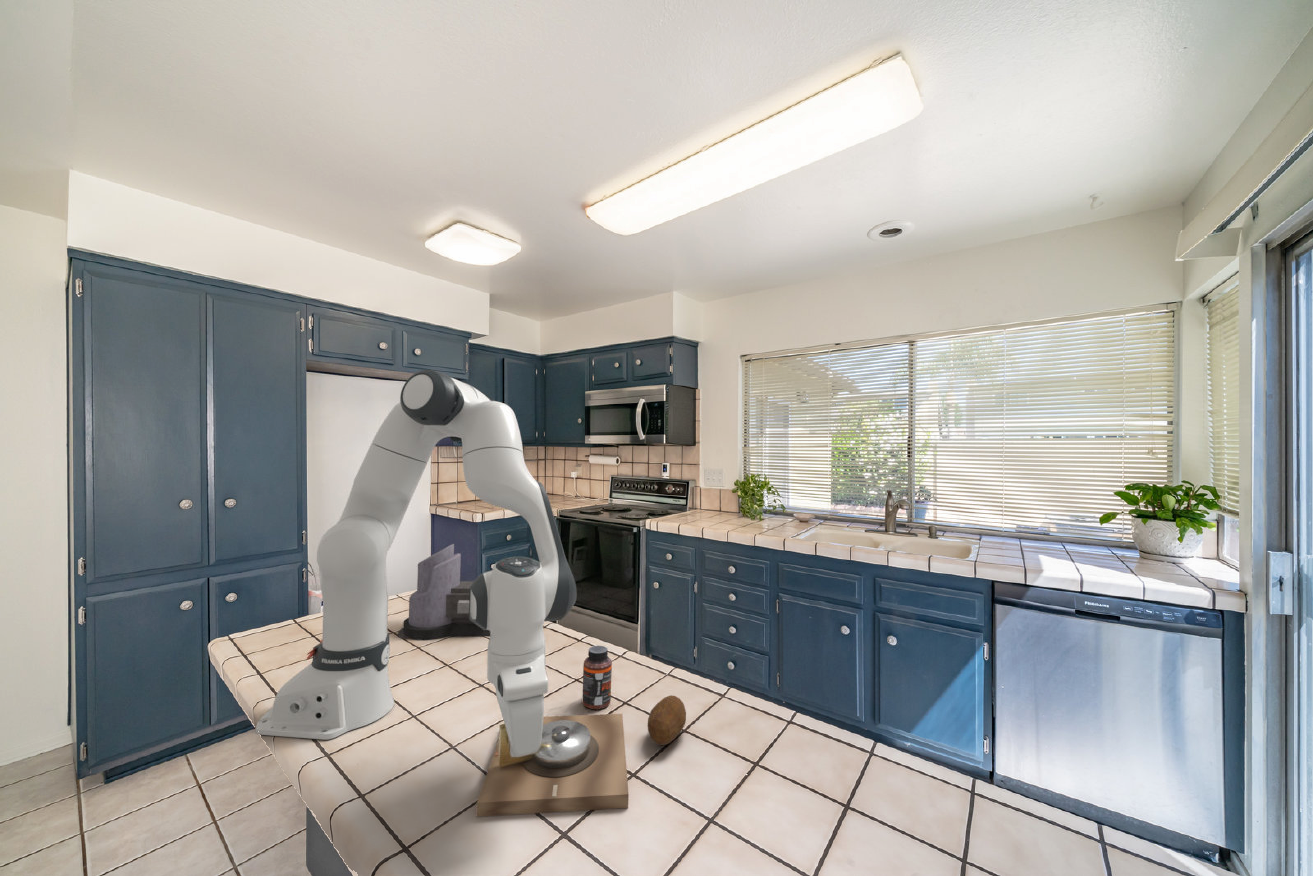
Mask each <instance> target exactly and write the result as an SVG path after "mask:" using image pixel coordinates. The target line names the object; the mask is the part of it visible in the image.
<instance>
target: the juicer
mask: <svg viewBox="0 0 1313 876" xmlns="http://www.w3.org/2000/svg"><path fill="white" fill-rule="evenodd" d="M461 555H462V554H461V553H455V544H454V543H452V544H450V545H448V546H447V547H445V548H443V549H441V550H439V551H437V552H436V553H433V554H432V555H430V556H428V557H427V558H425V559H422V560H421V561H420V562H418V564H417V583H416V585H417V586H416V591H414V592H413V593H411V595H410V596H409V600H408V604H409V605H408V617H407V618H406V619H404V621H403V626H402V628H400V630H399V631H397V637H398V638H399V639H400V640H414V641H433V640H435V641H436V640H440V639H444V638H467V637H468V638H469V637H470V638H471V637H475V638H476V637H478V638H479V637H480V638H481V637H483V638H484V637H487V638H488V637H489V638H490V630H483V629H482V628H480V627H479V626H477V625H476V624H475V623H473V622H472V621H471V620H470V619H469V587H470V586H471V584H472V583H473V582H474V581H475V580H461V564H462V563H461V558H462V557H461Z"/></svg>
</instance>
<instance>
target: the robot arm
mask: <svg viewBox="0 0 1313 876" xmlns="http://www.w3.org/2000/svg"><path fill="white" fill-rule="evenodd" d="M399 399H400V400H399V401H400V402H399V403H396V404H395V406H393V408H392V409H391V411H390V412H389V413H388V414H387V416H386V418H384V420H383V422H382V424H381V425H380V426H379V428H378V430H377V432H376V434H375V435H374V437H373V438H372V441H371V443H370V446H369V448H368V450H367V452H366V454H365V456H364V458H363V460H362V463H361V465H360V466H359V468H358V471H357V473H356V475H355V477H354V480H353V483H352V487H351V490H350V492H349V495H348V498H347V501H346V504H345V507H344V509H343V511H342V514H341V516H340V517H339V519H338V521H337V522H336V524H334V525H333V526H331V527H330V528H329V529H327V530H326V531H325V533H324V534H323V535H322V536H321V539H319V540H320V541H319V543H318V546H317V551H316V562H317V565H318V573H319V576H318V577H319V583H320V590H321V596H322V607H323V608H322V609H323V610H322V612H323V613H322V639H321V640H320V643H318V644H316V645H315V646H314V647H312V649H311V650H310V651H308V652H307V653H306V655H307V657H306V660H309V659H311V658H312V661H311V663H310V664H308V665H307V666H306V667H304V668H303V669H302V670H300V671H299V672H298V673H296V674H295V675H294V676H293V677H292V678H290V679H289V680H288V681H287V682H285V684H283V686H281V687H280V689H279V690H278V691H277V694H276V695H275V697H274V701H273V705H272V708H270V709H268V710H267V711H266V712H265V713H264V714H263V715H262V717H260V719H259V720H258V721H257V724H256V725H255V734H257V735H262V736H272V737H273V736H275V737H287V738H298V739H299V738H303V739H313V740H325V741H326V740H332V739H335V738H336V737H339V736H341V735H343V734H346V733H347V732H349V731H353V730H355V729H359V728H361V727H364V726H367V725H369V724H372V723H374V722H376V721H377V720H379V719H381V718H383V717H384V716H385V715H387V714H388V713H389V712H390V711H392V709H393V707H394V705H395V699H394V697H393V693H392V689H391V684H390V677H389V669H388V668H389V667H388V664H389V662H390V661H389V659H390V652H391V651H390V650H391V645H390V634H389V633H388V623H389V621H388V620H389V619H388V618H389V614H388V613H389V595H388V583H387V582H388V581H387V555H388V551H389V550H390V548H391V547H392V544H393V542H394V540H395V538H396V536H397V533H398V531H399V529H400V527H401V524H402V522H403V519H404V517H405V514H406V513H407V510H408V507H409V505H410V503H411V500H412V498H413V497H414V493H415V491H416V490H417V487H418V485H419V482H420V480H421V478H422V475H423V473H424V471H425V469H426V467H427V465H428V462H429V460H430V457H431V455H432V453H433V451H434V449H435V446H436V445H437V443H438V442H440V440H442V439H444V438H448V437H449V438H450V439H449V440H451V441H452V442H461V444H462V445H461V446H462V452H461V453H462V467H463V468H462V469H463V476H464V482H465V484H466V487H467V488H468V490H469V491H470V492H471V494H473V496H475V497H477V498H478V499H480V500H481V501H483V502H484V503H487V504H489V505H492V506H495V507H499V508H501V509H505V510H508V511H511V512H513V513H515V514H517V515H519V516H521V517H522V518H523V519H524V520H525V521H526V522H527V523H528V524H529V527H530V530H531V534H532V538H533V541H534V545H535V549H536V553H537V556H538V560H539V561H538V560H537V559H534V558H533V557H532V558H531V557H526V556H519V555H518V556H509V557H505V558H502V559H500V560H498V561H497V562H495V564H494V565H493V568H492V570H490V571H489V570H488V571H486V572H484V573H483V572H482V573H480V574H479V575H478V576H477V577H476V578H475V579H474V580H473V581H474V582H473V583H472V584H471V586H470V587H469V619H470V620H471V621H472V622H473V623H475V624H476V625H477V626H479V627H480V628H482V629H483V630H490V637H489V639H488V644H487V659H486V661H487V669H486V678H487V680H488V682H489V683H491V684H492V685H493V687H495V695H496V699H497V704H498V707H499V709H500V712H501V716H502V720H503V724H505V727H506V730H507V734H508V748H509V752H510V755H511V757H521V756H526V755H529V754H533V753H536V752H538V750H539V748H540V745H541V740H542V729H543V717H545V716H544V715H545V714H544V713H545V698H544V695H546V694H547V693H548V692H549V679H548V673H547V669H546V637H545V633H544V623H545V622H553V621H554V622H555V621H561V620H563V619H564V618H565V617H566V616H567V614H568V613H570V611H571V610H572V609H573V607H574V605H575V603H576V601H577V584H576V581H575V578H574V574H573V573H572V569H571V568H570V565H569V562H568V559H567V558H566V553H565V551H564V548H563V544H562V540H561V537H560V533H559V528H558V526H557V522H556V518H555V514H554V511H553V508H552V505H551V502H550V499H549V496H548V493H547V490H546V488H545V486H544V485H543V484H542V482H540V481H539V480H537V479H535V478H534V476H533V475H532V474H531V473H530V471H529V469H528V467H527V465H526V462H525V458H524V448H523V441H522V436H521V431H520V428H519V423H518V419H517V418H516V414H515V412H514V410H513V408H512V407H510V405H508V404H507V403H503V402H500V401H496V400H494V399H492V398H491V397H490V396H489V395H486V394H484V393H482V392H481V391H480V390H479V389H477V388H475V387H474V386H473V385H470V384H468V383H465V382H463V381H460V380H458V379H456V378H454V377H450V376H449V374H447V373H445V372H441V371H438V370H433V369H421V370H419V371H417V372H415V373H413V374H412V375H410V376H409V377H408V378H407V380H406V381H405V383H404V385H403V386H402V388H401V392H400V397H399ZM258 731H259V732H258Z"/></svg>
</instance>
